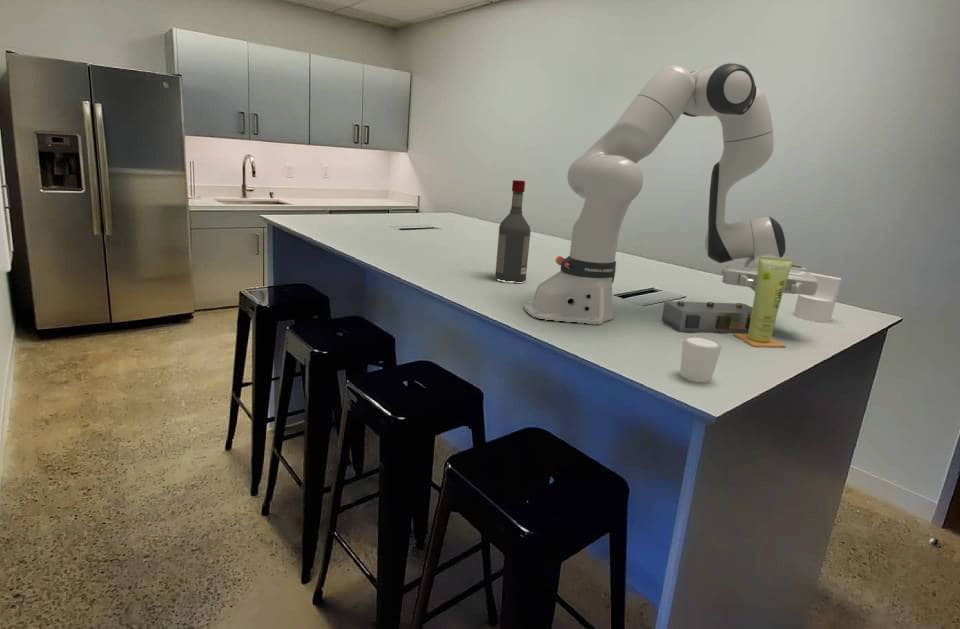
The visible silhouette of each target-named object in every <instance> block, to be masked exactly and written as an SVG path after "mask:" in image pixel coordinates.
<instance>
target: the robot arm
mask: <svg viewBox="0 0 960 629" xmlns="http://www.w3.org/2000/svg"><path fill="white" fill-rule="evenodd" d="M682 115H685V116H686V117H687V116H688V117H693V118H694V117H708V118H709V117H717V118H718V120H719V121H720V123H721V127H722V128H721V130H722V140H723V150H722V153H721V157H720V160H719V161H717V162H716V163H715V164H713V167H712V170H711V176H710V186H709V198H708V199H709V202H708V218H707V219H708V222H707V230H706V235H705V238H704V248H705V253H706V254H707V257H708V258H709V259H711V260H713V261H714V262H716V263H718V264H723V263H724V264H725V263H728V262H733V261H734V260H740V259H746V260H745V261H744V264H743V266H736V265H727V266H726V267H725V268H724V269H721V271H720V273H721V275H723V276H722V279H721V280H722V283H723V284H726V285H731V286H740V287H744V288H745V287H747V288H749V289H751V290H752V291H753V292H755V290H756V283H757V275H758V266H759V257H760V256H764V257H778V258H784V255H785V253H786V238H785V233H784V231H783V228H782V226H781V224H780V223H779V222H778V221H777V220H776V219H774V217H771V216H766V217H759V218H752V219H749V220H743V221H738V222H730V223H727V222H726V221H725V215H726V204H727V203H726V200H727V194H728V193H729V191H730V189H731V188H732V187H733V186H734V185H735V184H737V183H738V182H740V181H741V180H743V179H745V178H747V177H749V176H750V175H752V174H754V173H756V172H757V171H758V170H760V169H761V168H763V167H764V166H765V165H766V164H767V162H768V161H769V160H770V159H771V156H772V154H773V153H774V129H773V128H774V127H773V121H772V115H771V110H770V107H769V103H768V99H767V97H766V94H765V92H763V90H762V89H760V88H757V86H756V83H755V79H754V77H753V74H752V72H751V70H749V69H748V68H747V67H746V66H745V65H742V64H739V63H729V62H728V63H723V64H722V65H711V66H706V67H704V68H703V67H702V68H700V69H697V70H694V71H689V70H687V69H686V68H685V67H683V66H682V65H681V66H680V65H678V64H669V65H666V66H665V67H663V68H662V69H661V70H660V71H659V72H657V73H656V74H655V75H654V76H653V77H652V78H651V79H650V80H649V81H648V82H647V83H646V84H645V85H644V86H643V88H642V89H640V91H639V93H638V94H637V95H636V96H635V97H634V99H633V100H632V101H631V103H630V104H629V105H628V106H627V107H626V109H625V110H624V112H623V113H622V114H621V116H620V117H619V118H618V120H617V121H616V122H615V123H614V125H612V126H611V127H610V129H608V130H607V131H606V132H605V133H604V134H603V135H602V136H601V137H600V138H599V139H598V140H597V141H596V142H594V143H593V144H592V146H590V148H589V149H587V151H586V152H584V154H582V155H581V156H580V157H577V158H576V159H575V160H574V161H573V162H572V164H571V165H570V166H569V168H568V170H567V177H566V178H567V182H568V185H569V187H570V189H571V190H572V191H573V192H574V193H575V194H577V196H579V197H580V198H583V199H584V202H583V205H582V210H581V212H580V214H579V217H578V218H577V220H576V221H575V222H574V224H573V227H572V235H571V242H570V250H569V251H570V252H569V255H568V256H567V257H565V258H564V257H562V256H560V255H558V256H557V257H556V258H555V263H556V265H558V266H560V270H559V271H558V272H557V273H555V274H554V275H551V276H550V277H549V278H547V279H545V280H544V281H542V282H541V283H540V284H539V285H538V286H537V288H536V290H535V293H534V296H533V300H531V301H526V302H525V303H524V305H523V306H524V307H525V309H526V311H527V312H529V313H530V314H531V315H532V316H534V317H536V318H539V319H545V320H544V321H547V320H554V321H553V322H559V321H565V322H564V323H571V322H577V323H576V324H584V323H587V324H586V325H588V324H589V325H597V324H598V325H599V326H600V325H602V324H603V323H604V322H607V321H610V320H612V319H614V310H613V300H612V299H613V297H612V296H613V294H612V293H613V283H614V280H615V277H616V270H617V269H616V268H617V261H616V260H615V259H616V255H617V248H618V243H619V235H620V230H621V227H622V224H623V221H624V218H625V216H626V213H627V211H628V209H629V207H630V205H631V203H632V202H633V200H634V199H636V198H637V197H638V196H639V194H640V192H641V190H642V188H643V184H644V176H643V172H642V170H641V168H640V167H639V165H638V163H639V162H640V161H641V160H643V159H645V158H646V157H648V156H649V155H651V154H652V153H653V152H654V151H655V149H657V148H658V146H659V145H660V144H661V142H662V141H663V139H664V138H665V137H666V136H667V134H668V133H669V131H670V130H671V129H672V128H673V126H674V125H675V124H676V123H677V122H678V120H679V118H680V117H681V116H682ZM808 272H809V271H808V269H807V267H804V266H798V265H795V264H792V266H791V269H790V272H789V275H788V278H787V281H786V284H785V288H784V291H783V294H792V295H793V294H794V295H795V294H796V295H798V294H804V295H810V296H813V295H815V293H816V290H817V286H818V280H817V279H816V277H815V276H813V275H812V274H810V273H811V272H809V273H808ZM524 307H523V308H524ZM525 309H524V310H525ZM526 311H525V312H526ZM527 312H526V313H527ZM532 316H531V317H532ZM534 317H533V318H534ZM536 318H535V319H536ZM539 319H538V320H539Z"/></svg>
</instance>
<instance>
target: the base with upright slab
mask: <svg viewBox="0 0 960 629" xmlns="http://www.w3.org/2000/svg"><path fill="white" fill-rule="evenodd" d="M807 272H808V273H810V274H812V275H813V276H815V277H816V279H817V280H818V286H817V290H816V293H815V295H813V296H810V295H804V294H797V299H796V303H795V308H794V312H793V316H794V317H796V318H798V319H800V318H801V320H804V321H809V322H813V321H814V322H813V323H823V324H824V323H825V324H827V323H830V322H831V320H832V316H833V312H834V309H835V305H836V302H837V299H838V298H837V297H838V294H839V291H840V286H841V282H842V278H841V277H837V276H830V275H827V274H826V275H825V274H820V273H814V272H809V271H807Z"/></svg>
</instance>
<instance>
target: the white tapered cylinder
mask: <svg viewBox="0 0 960 629" xmlns="http://www.w3.org/2000/svg"><path fill="white" fill-rule="evenodd" d="M721 349H722V344H721V343H720V342H718V341H716V340H714V339H710V338H707V337H701V336H684V337H683V338H682V349H681V359H680V360H681V361H680V371H679V373H680V377H682V378H684V379H685V380H688V381H689V382H690V381H691V382H696V383H710V382H711V381H712V380H713V376H714V373H715V369H716V366H717V364H718V360H719V357H720V354H721Z"/></svg>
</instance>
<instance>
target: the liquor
mask: <svg viewBox="0 0 960 629" xmlns="http://www.w3.org/2000/svg"><path fill="white" fill-rule="evenodd" d="M511 186H512V187H511V188H512V189H511V191H512V197H511V198H512V199H511V206H510V207H511V208H510V210H509V214H507V215H506V216H505V218H504V219H503V220H502V221H501V222H500V223H499V227H498V236H497V238H498V239H497V250H496V251H497V252H496V263H495V280H496V279H500V280H505V281H515V282H523V281H525V282H526V280H527V270H528V259H529V250H530V239H531V233H532V232H531V227H530V224H529V223H528V221H527V220H526V219H525V216H524V215H523V200H524V197H523V196H524V192H525V191H526V190H525V187H526V181H525V180H517V179H516V180H515V179H514V180H512V185H511Z"/></svg>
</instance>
